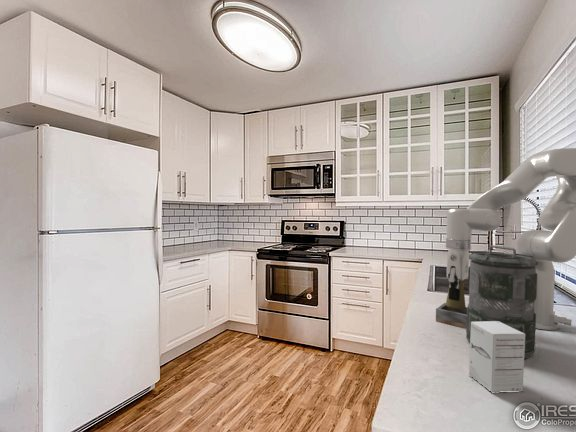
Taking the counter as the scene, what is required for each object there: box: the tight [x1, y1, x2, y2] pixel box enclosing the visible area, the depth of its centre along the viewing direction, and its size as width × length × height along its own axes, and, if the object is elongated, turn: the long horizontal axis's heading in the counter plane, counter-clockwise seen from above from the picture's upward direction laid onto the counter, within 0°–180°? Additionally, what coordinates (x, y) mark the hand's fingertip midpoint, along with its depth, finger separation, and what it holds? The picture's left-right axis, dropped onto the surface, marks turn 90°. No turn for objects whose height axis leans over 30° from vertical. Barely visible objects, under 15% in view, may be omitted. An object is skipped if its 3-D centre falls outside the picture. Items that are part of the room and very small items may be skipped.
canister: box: [465, 244, 538, 359], centre depth 88 cm, size 16×16×28 cm
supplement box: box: [468, 321, 525, 393], centre depth 69 cm, size 7×7×13 cm
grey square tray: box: [435, 302, 468, 329], centre depth 108 cm, size 10×10×4 cm
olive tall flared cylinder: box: [445, 277, 467, 309], centre depth 108 cm, size 6×6×11 cm
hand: (455, 298), depth 108 cm, fingers closed on olive tall flared cylinder, 3 cm apart
